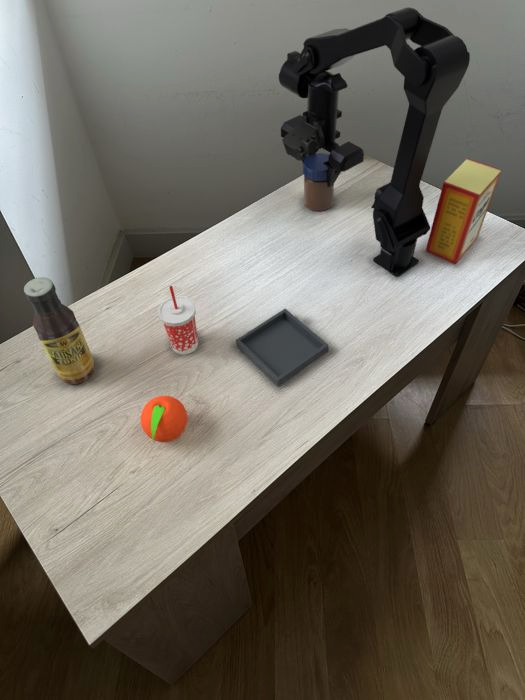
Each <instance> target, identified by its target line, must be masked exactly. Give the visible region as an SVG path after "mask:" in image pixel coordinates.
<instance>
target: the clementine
mask: <svg viewBox="0 0 525 700" xmlns="http://www.w3.org/2000/svg"><path fill="white" fill-rule="evenodd" d="M140 425H141V428H142V431H143V432H144V434H145V435H146V436H147V437H148V438H150V439H151V440H152V442H153V443H154V442H159V443H169V442H173V441H174V440H177V439H178V438H179V437H180V436H182V434H183V433H184V432H185V430H186V428H187V425H188V411H187V409H186V407H185V405H184V404H183V403H182V402H181V400H179V399H177V398H175V397H174V396H170V395H159V396H156V397H154V398H151V399H150V400H149V401H148V402H146V404H145V405H144V407H143V408H142V410H141V414H140Z"/></svg>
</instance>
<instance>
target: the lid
mask: <svg viewBox="0 0 525 700" xmlns="http://www.w3.org/2000/svg"><path fill="white" fill-rule="evenodd" d="M329 154H330V153H329ZM329 154H328V153H322V152H316V153H315V154H314V155H313V156H312V157H311V158H309V157H306V158H305V160H304V163H303V162H302V173H303V176H304V175H305V177H307V178H308V179H310V180H313V181H325V180H327V174H328V167H327V166H325V165H324V164H323V163H324V162H326V161H328V158H329Z"/></svg>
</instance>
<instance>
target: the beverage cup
mask: <svg viewBox="0 0 525 700" xmlns="http://www.w3.org/2000/svg"><path fill="white" fill-rule="evenodd" d="M168 289H169V291H170V297H168V298H165V299H164V300H163V301H162V302H161V303H160V304H159V305H158V308H157V316H158V318H159V320H160V321H161V322H162V324H163V327H164V330H165V332H166V336H167V337H168V341H169V343H170V345H171V348H172V350H173V352H175V353H176V354H178V355H189V354H191V353H193V352H194V351H195V350H197V348H198V346H199V338H198V329H197V321H196V313H197V311H196V304H195V302H194V301H193V299H192V298H190V297H188V296H185V295H176V294H175V291H174V288H173V285H170V286H169V288H168Z"/></svg>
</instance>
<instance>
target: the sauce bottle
mask: <svg viewBox="0 0 525 700" xmlns="http://www.w3.org/2000/svg"><path fill="white" fill-rule="evenodd" d="M56 290H57V289H56V286H55V284H54V282H53V281H52V279H51V278H49V277H45V276H40V277H39V276H38V277H35V278H33V279H30V280H29V281H28V282H27V283H25V285H24V287H23V292H24V295H25V298H26V299H27V301H29V302H30V304H31V305H32V308H33V311H34V316H33V320H32V326H33V329H34V330H35V332H36V334H37V337H38V340H39V342H40V344H41V345H42V348H43V349H44V352H45V353H46V355H47V357H48V359H49V361H50V363H51V365H52V367H53V369H54V371H55V374H56V375H57V376H58V377H59V379H60V380H61V381H62V382H63V383H65V384H68V385H79V384H82V383H84V382H86V381H87V380H88V379H90V378H91V377H92V376H93V374H94V373H95V361H94V357H93V354H92V353H91V351H90V348H89V347H90V346H89V345H88V342H87V339H86V337H85V335H84V333H83V330H82V328H81V326H80V324H79V322H78V320H77V319H76V315H75V312H74V310H73V309H71V308H69V307H68V306H67V305H65V304H63V303H62V301H61V300H60V298H59V296H58V294H57V292H56Z"/></svg>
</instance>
